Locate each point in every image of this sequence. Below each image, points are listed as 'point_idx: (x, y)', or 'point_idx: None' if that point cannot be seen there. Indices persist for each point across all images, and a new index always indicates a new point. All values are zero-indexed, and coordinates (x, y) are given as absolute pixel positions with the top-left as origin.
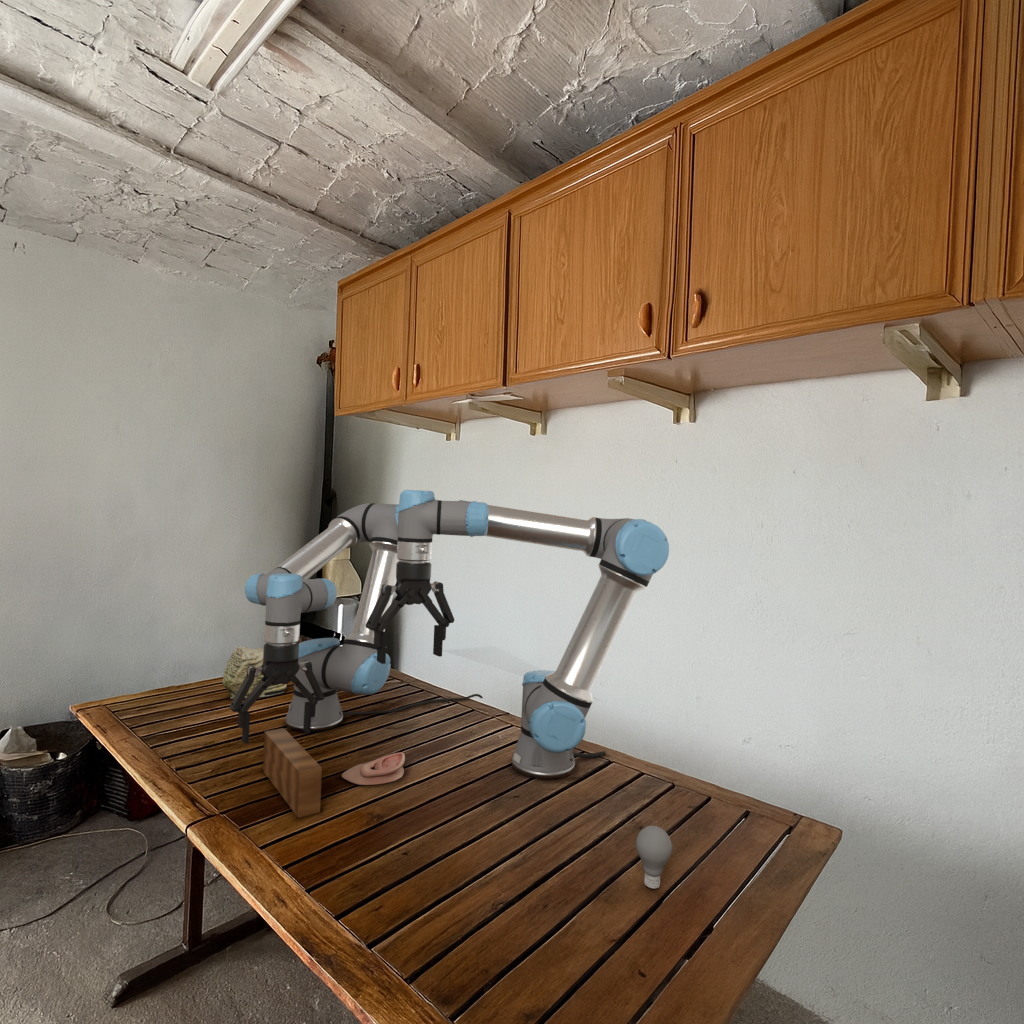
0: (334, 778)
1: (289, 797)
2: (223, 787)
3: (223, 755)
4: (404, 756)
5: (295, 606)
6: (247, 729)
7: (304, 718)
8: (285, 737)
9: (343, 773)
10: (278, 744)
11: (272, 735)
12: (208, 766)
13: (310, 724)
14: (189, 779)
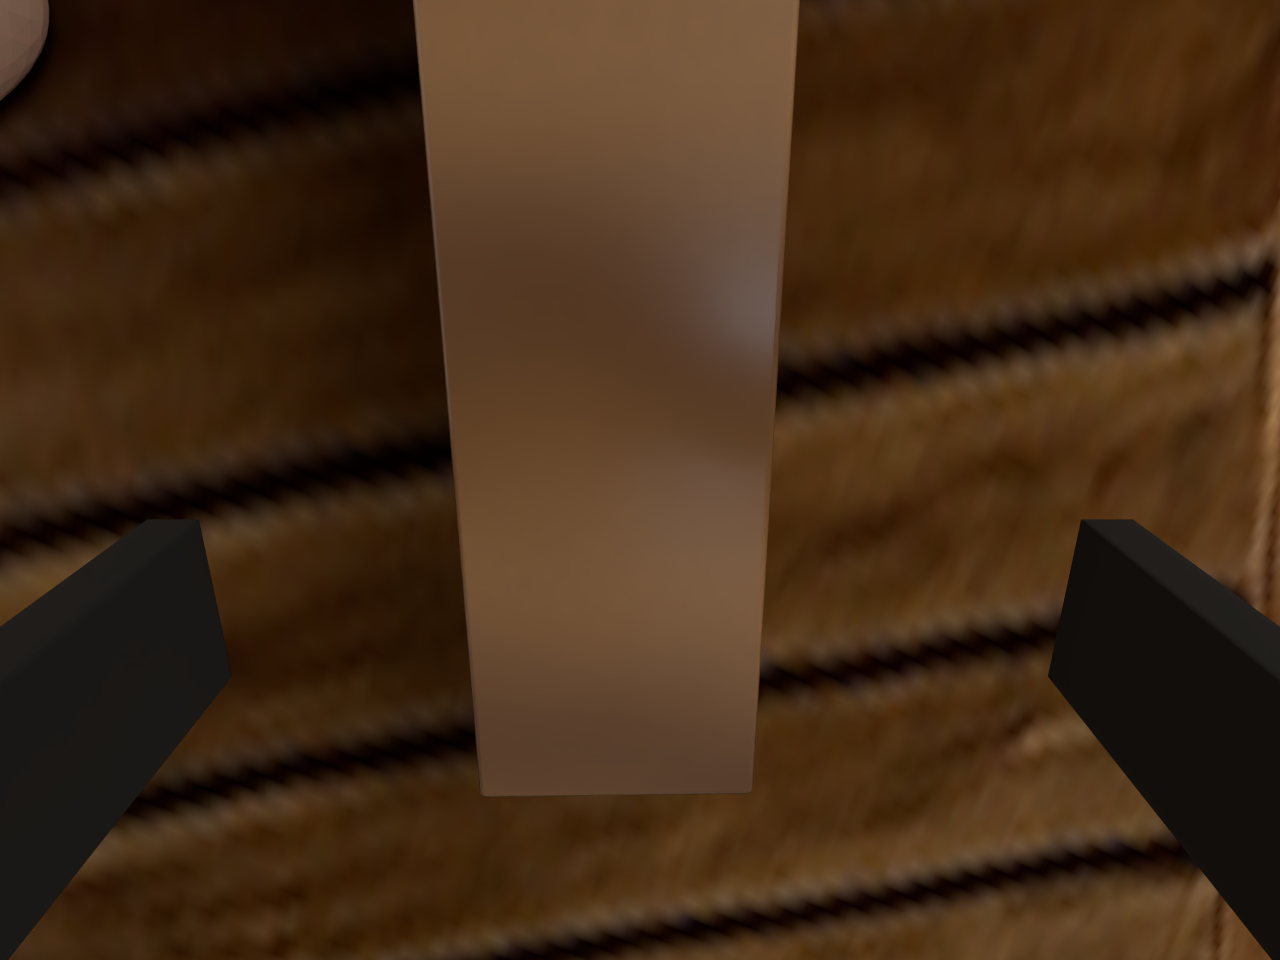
0: (136, 51)
1: None
2: (1076, 399)
3: (864, 923)
4: None
5: None
6: (1253, 630)
7: (122, 779)
8: (557, 445)
9: (12, 26)
10: (750, 190)
11: (707, 610)
12: (1017, 804)
13: (64, 586)
14: None
